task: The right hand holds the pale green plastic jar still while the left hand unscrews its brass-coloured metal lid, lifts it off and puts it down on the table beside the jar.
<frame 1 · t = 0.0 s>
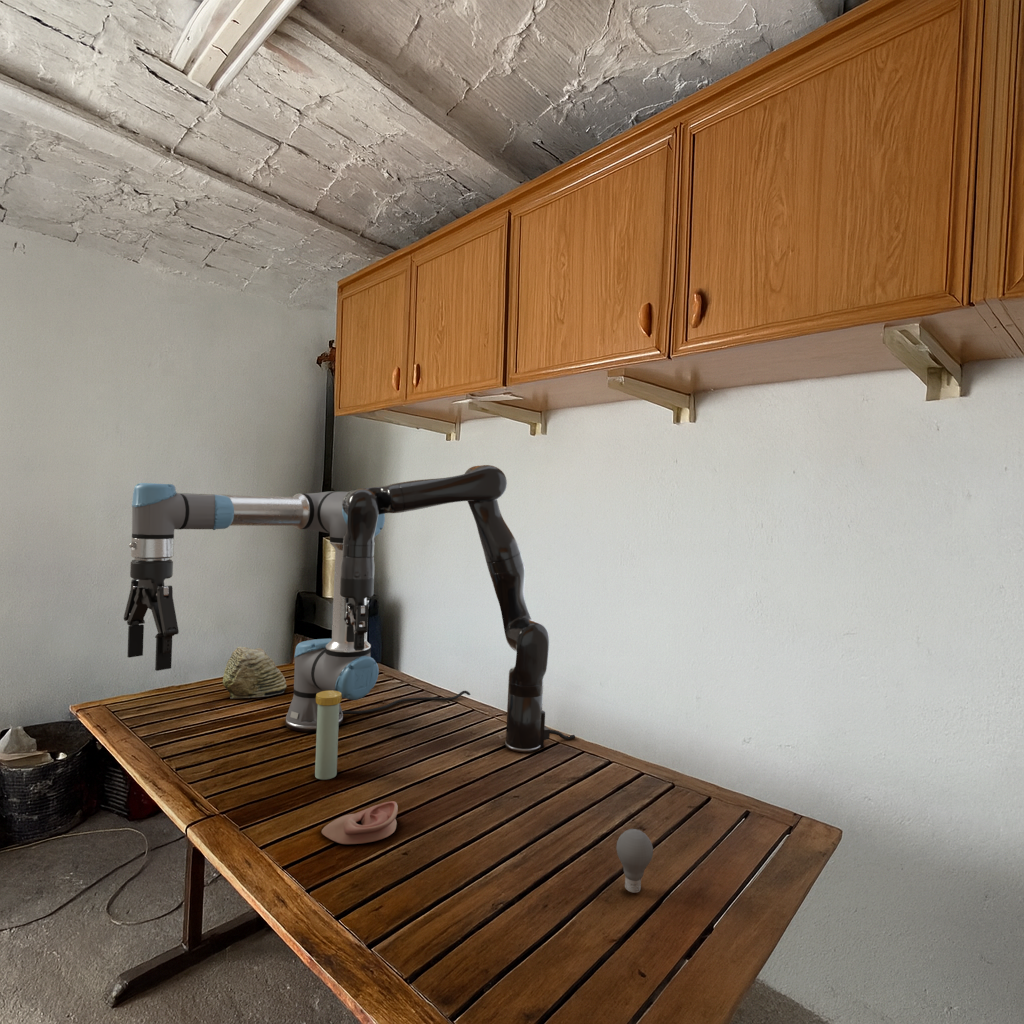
left hand: (148, 662, 129), 28 cm above the table, tool pointing down, fingers open, 13 cm apart
right hand: (354, 645, 146), 29 cm above the table, tool pointing down, fingers open, 8 cm apart
lid: (328, 695, 144), point 18 cm above the table, screwed on, not yet turned
anatomical model: (360, 830, 121), on the table
jar: (325, 775, 144), on the table
fossil: (254, 694, 198), on the table
light bulb: (632, 891, 106), on the table
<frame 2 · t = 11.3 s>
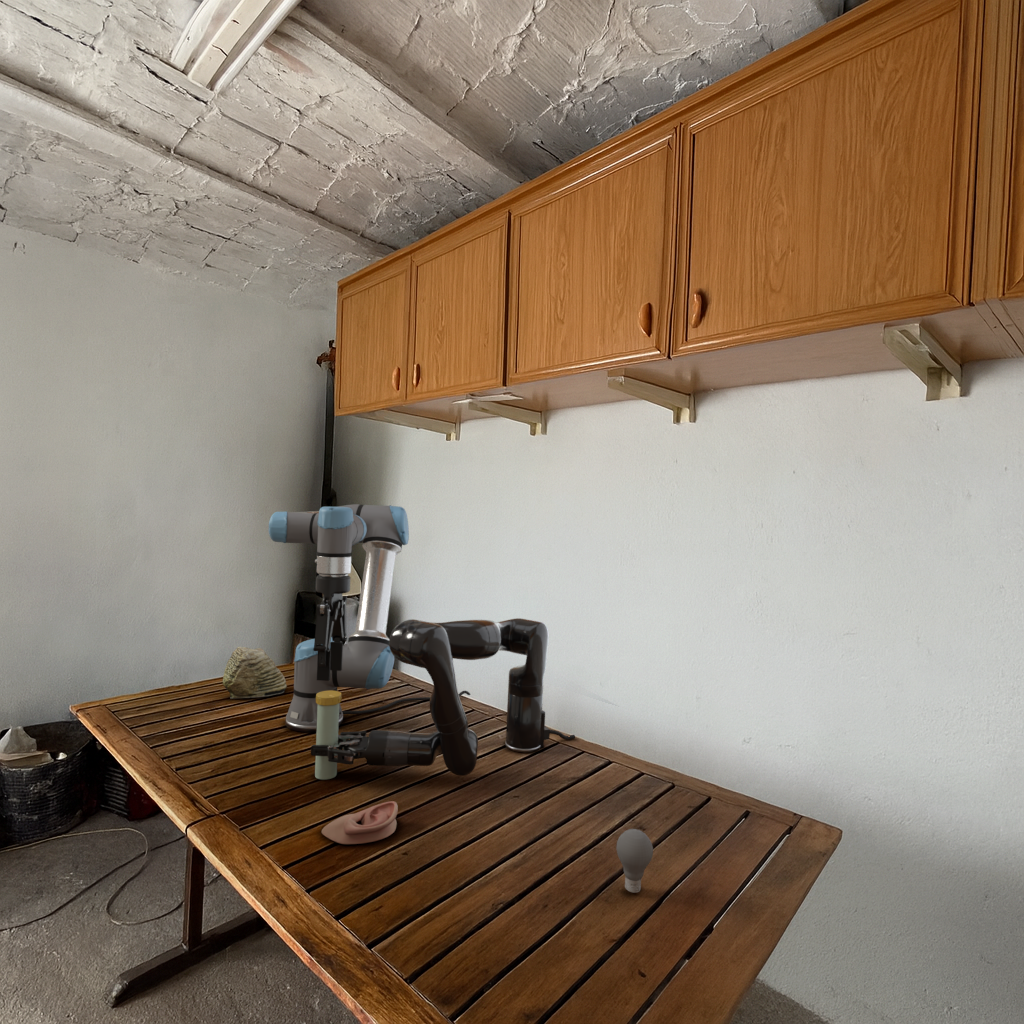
left hand: (329, 674, 144), 23 cm above the table, tool pointing down, fingers open, 8 cm apart
right hand: (315, 745, 144), 7 cm above the table, tool horizontal, fingers closed on jar, 4 cm apart
jar: (325, 775, 144), on the table, touching right hand
everything else where it was.
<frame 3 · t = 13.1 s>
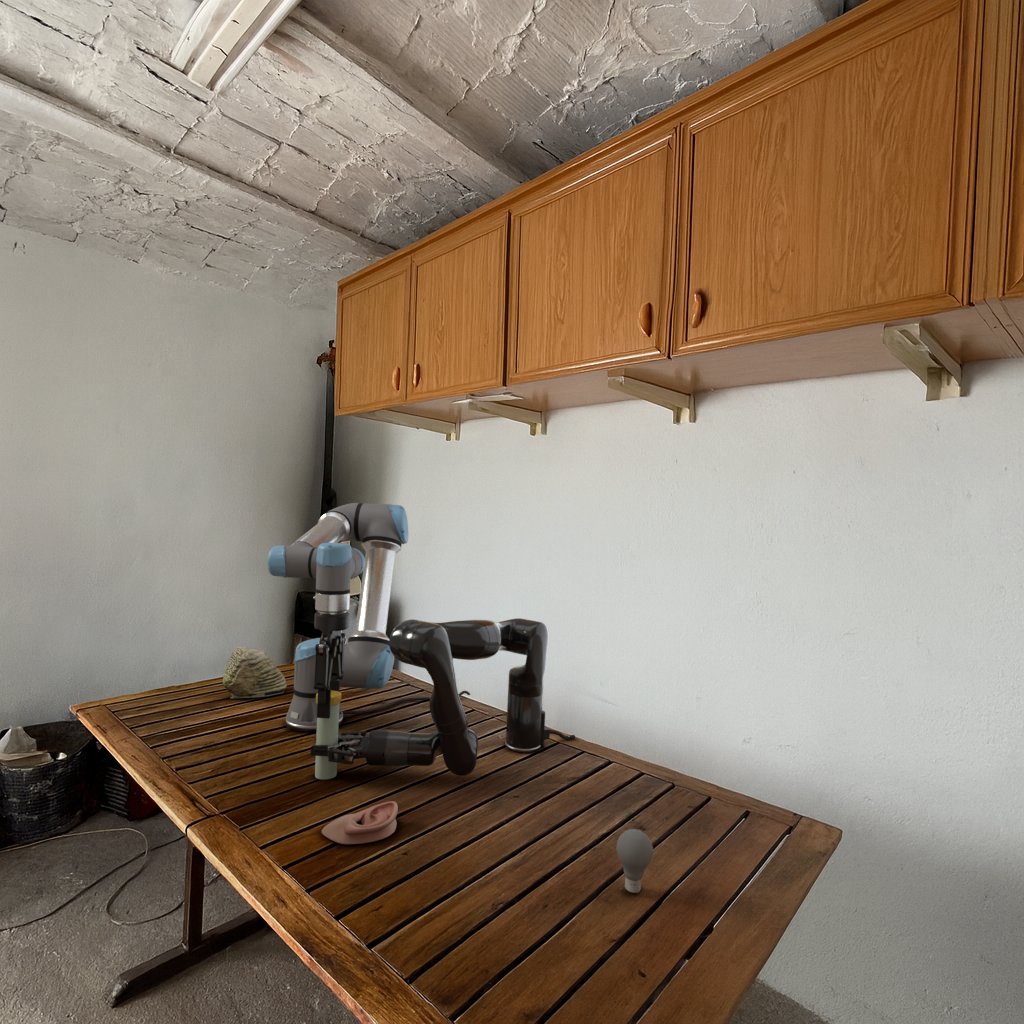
left hand: (328, 712, 144), 14 cm above the table, tool pointing down, fingers closed on lid, 5 cm apart
right hand: (315, 745, 144), 7 cm above the table, tool horizontal, fingers closed on jar, 4 cm apart
lid: (328, 695, 144), point 18 cm above the table, screwed on, not yet turned, touching left hand
jar: (325, 775, 144), on the table, touching right hand
everything else where it was.
when the left hand's fingers open (15 cm above the table, at t = 14.3 s): lid stays where it is, point 18 cm above the table.
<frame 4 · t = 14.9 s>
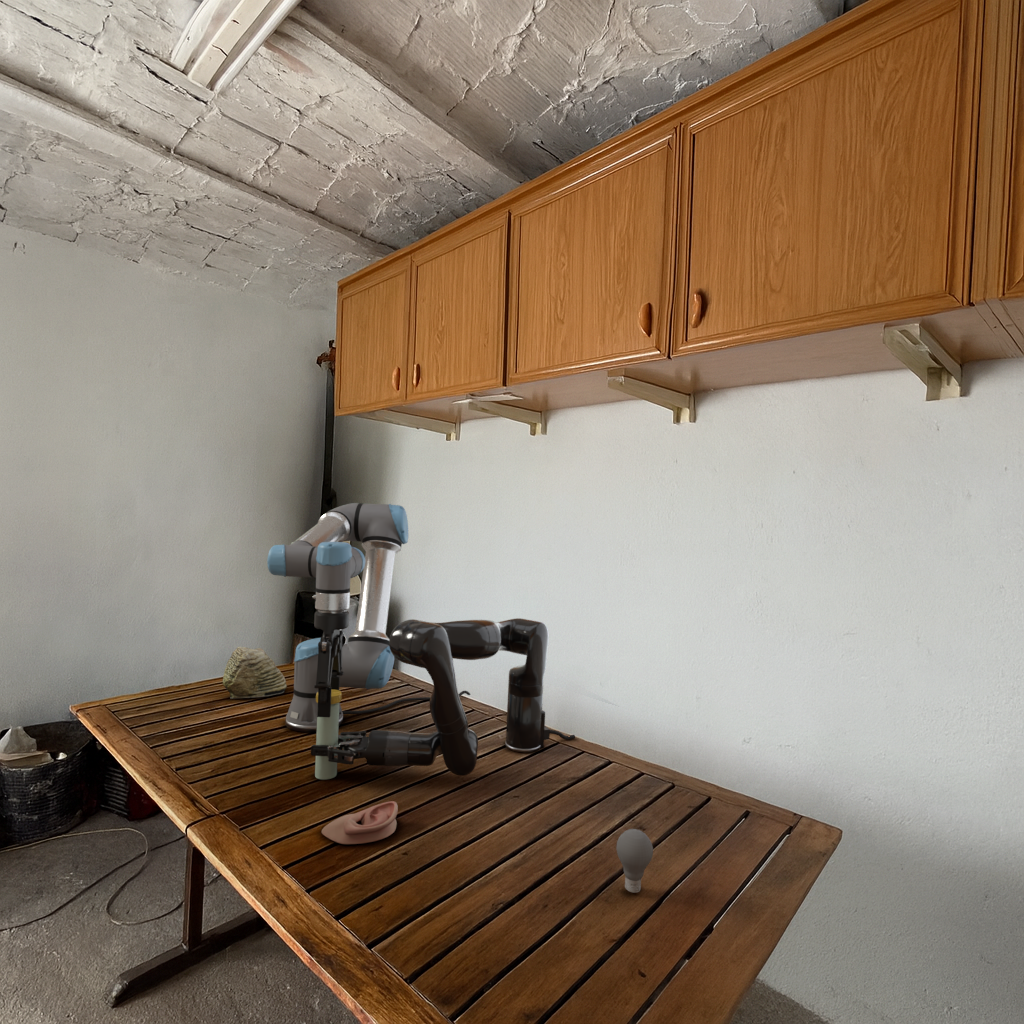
left hand: (328, 710, 144), 15 cm above the table, tool pointing down, fingers open, 8 cm apart
right hand: (315, 745, 144), 7 cm above the table, tool horizontal, fingers closed on jar, 4 cm apart
lid: (328, 694, 144), point 18 cm above the table, turned 70° so far, risen 0.2 cm, still on its thread
jar: (325, 775, 144), on the table, touching right hand
everything else where it was.
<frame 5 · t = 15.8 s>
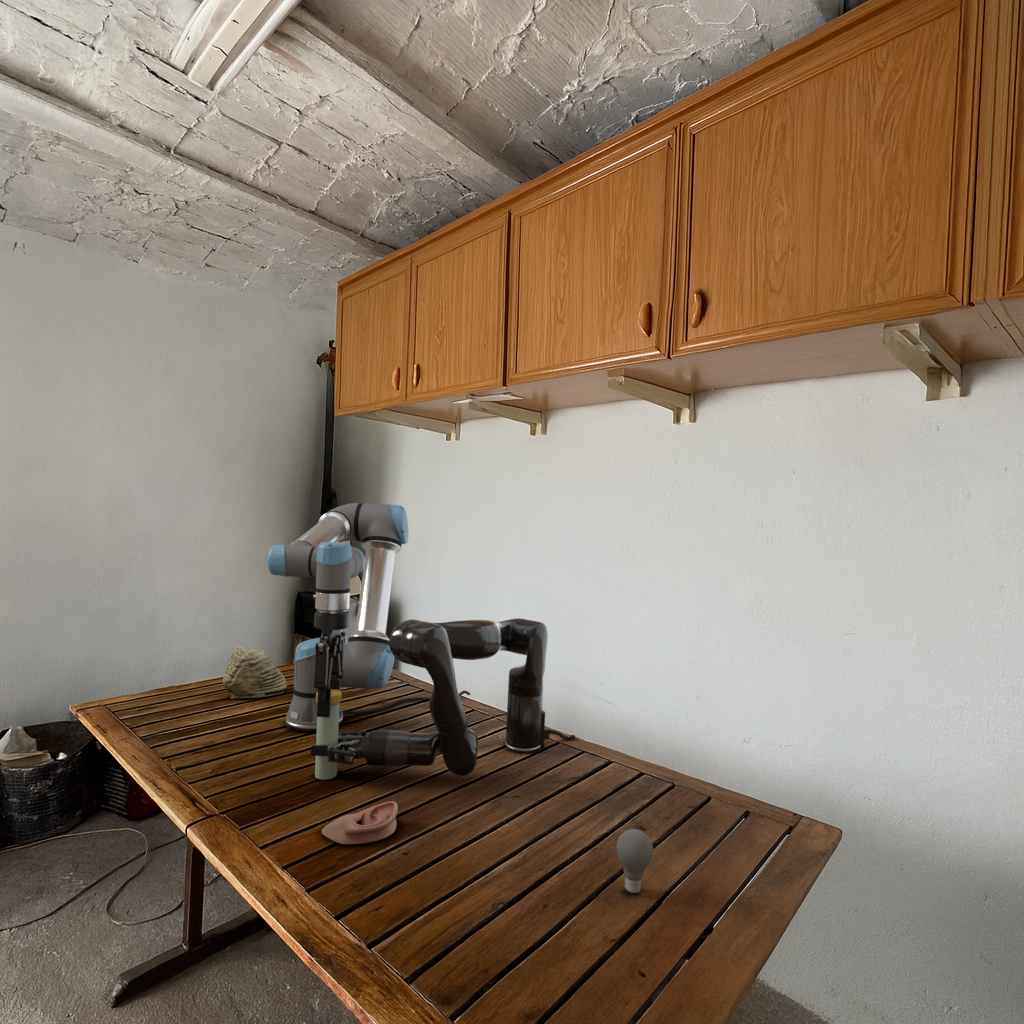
left hand: (328, 711, 144), 15 cm above the table, tool pointing down, fingers closed on lid, 5 cm apart
right hand: (315, 745, 144), 7 cm above the table, tool horizontal, fingers closed on jar, 4 cm apart
lid: (328, 694, 144), point 18 cm above the table, turned 70° so far, risen 0.2 cm, still on its thread, touching left hand
jar: (325, 775, 144), on the table, touching right hand
everything else where it was.
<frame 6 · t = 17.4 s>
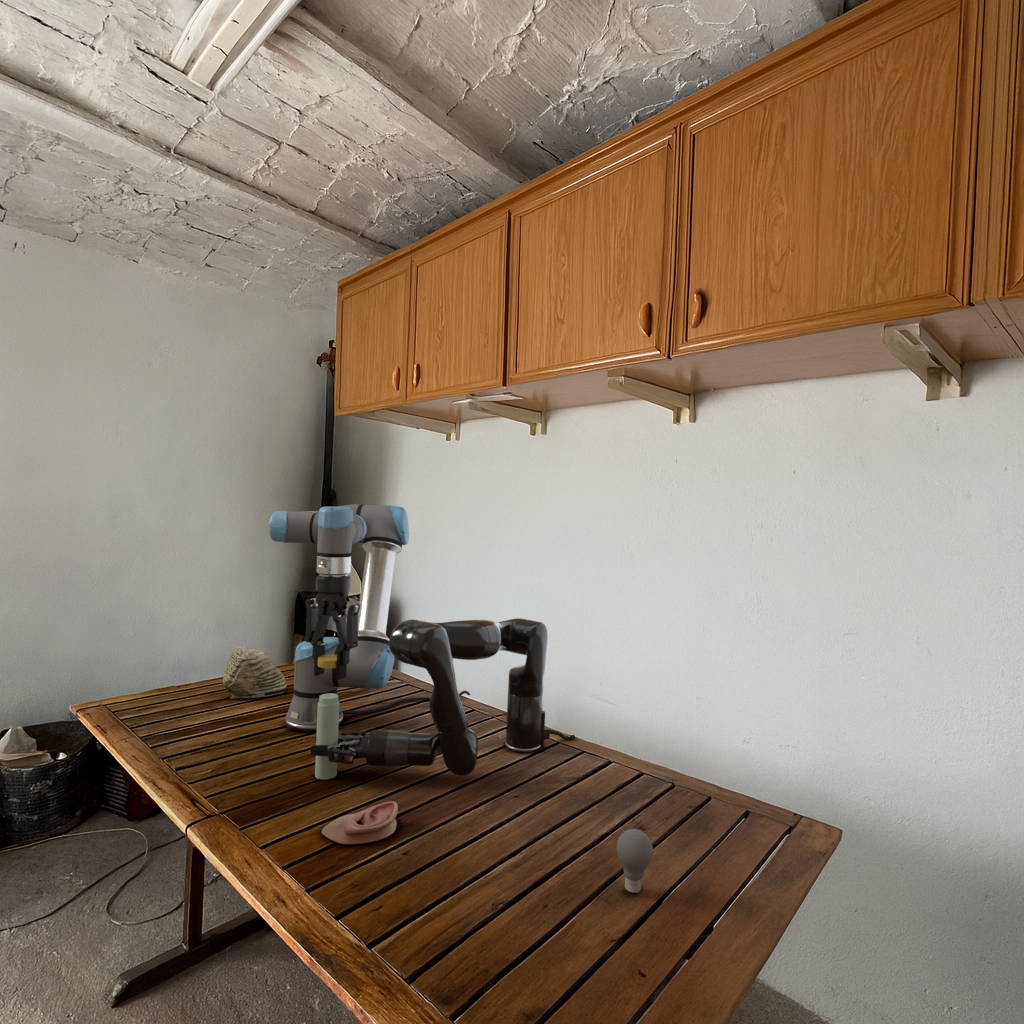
left hand: (330, 676, 144), 23 cm above the table, tool pointing down, fingers closed on lid, 5 cm apart
right hand: (315, 745, 144), 7 cm above the table, tool horizontal, fingers closed on jar, 4 cm apart
lid: (330, 659, 144), point 27 cm above the table, off its thread, touching left hand
jar: (325, 775, 144), on the table, touching right hand
everything else where it was.
when the left hand's fingers open (0 cm above the table, at t = 23.2 s): lid drops 3 cm, point 1 cm above the table.
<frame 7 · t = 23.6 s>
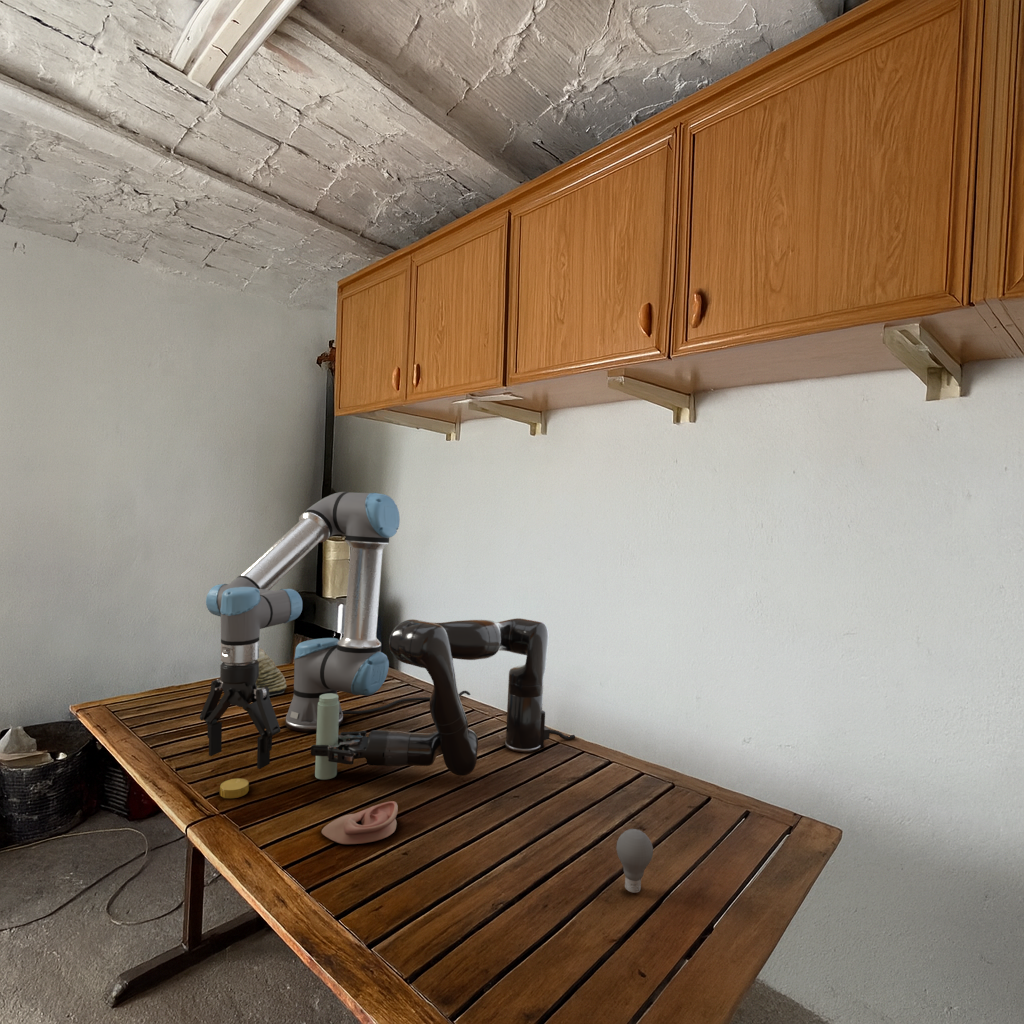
left hand: (238, 759, 135), 7 cm above the table, tool pointing down, fingers open, 13 cm apart
right hand: (315, 745, 144), 7 cm above the table, tool horizontal, fingers closed on jar, 4 cm apart
lid: (234, 785, 134), point 1 cm above the table, off its thread
jar: (325, 775, 144), on the table, touching right hand
everything else where it was.
when the right hand's fingers open (7 cm above the table, at t = 23.8 s): jar stays where it is, on the table.
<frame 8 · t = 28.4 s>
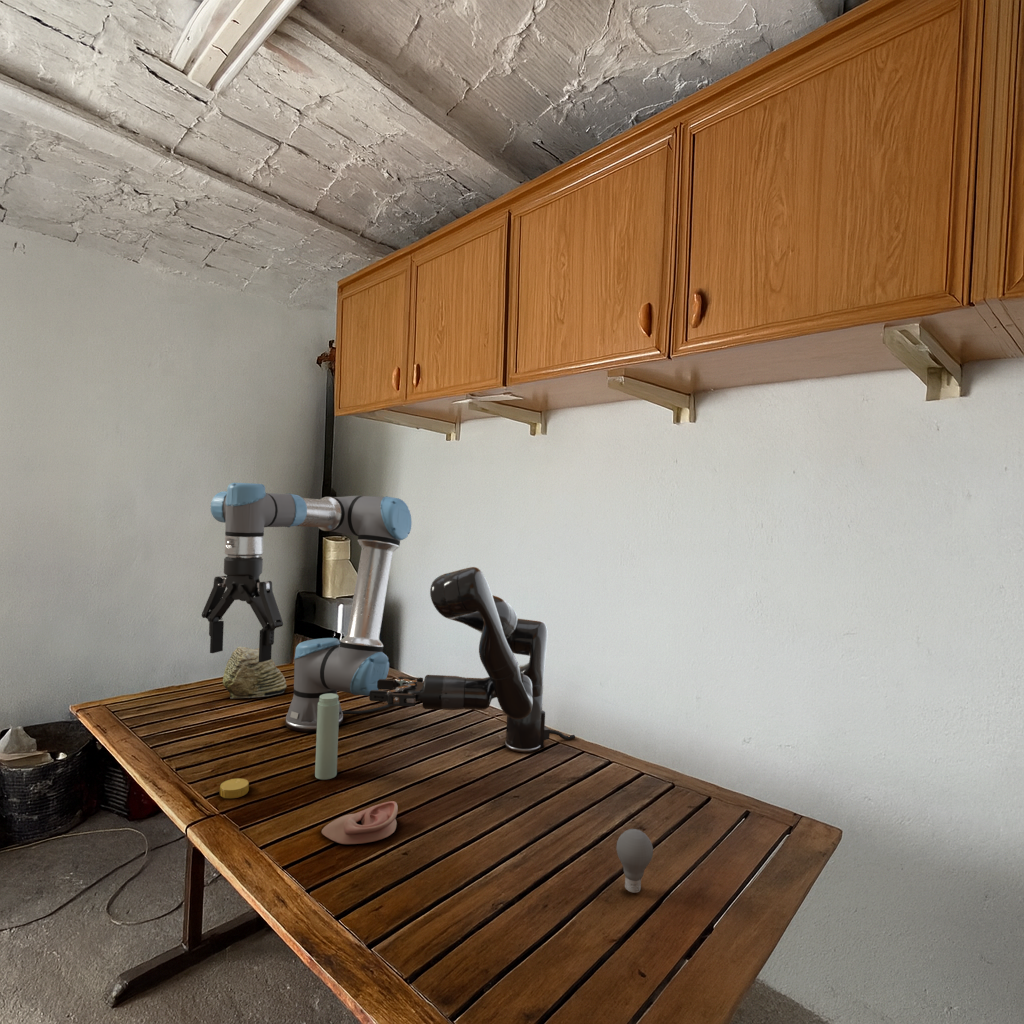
left hand: (240, 656, 134), 29 cm above the table, tool pointing down, fingers open, 13 cm apart
right hand: (373, 689, 144), 20 cm above the table, tool horizontal, fingers open, 8 cm apart
jar: (325, 775, 144), on the table
everything else where it was.
at the end: lid came off its thread; lid point 1.4 cm above the table; the left hand is holding nothing; the right hand is holding nothing; jar tilted 0°; jar moved 0.0 cm from its start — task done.
